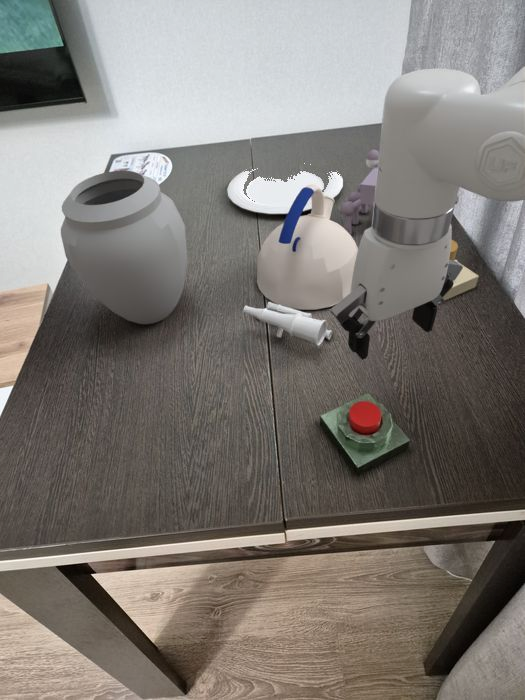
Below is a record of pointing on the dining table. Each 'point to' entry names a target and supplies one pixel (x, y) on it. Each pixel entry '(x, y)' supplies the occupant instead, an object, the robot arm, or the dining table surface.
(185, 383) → the dining table surface
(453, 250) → the dimmer knob
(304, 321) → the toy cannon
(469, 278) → the dimmer panel
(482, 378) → the dining table surface
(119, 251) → the vase
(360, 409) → the button
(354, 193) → the lavender toy animal
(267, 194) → the plate
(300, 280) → the kettle
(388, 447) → the switch block
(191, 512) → the dining table surface
